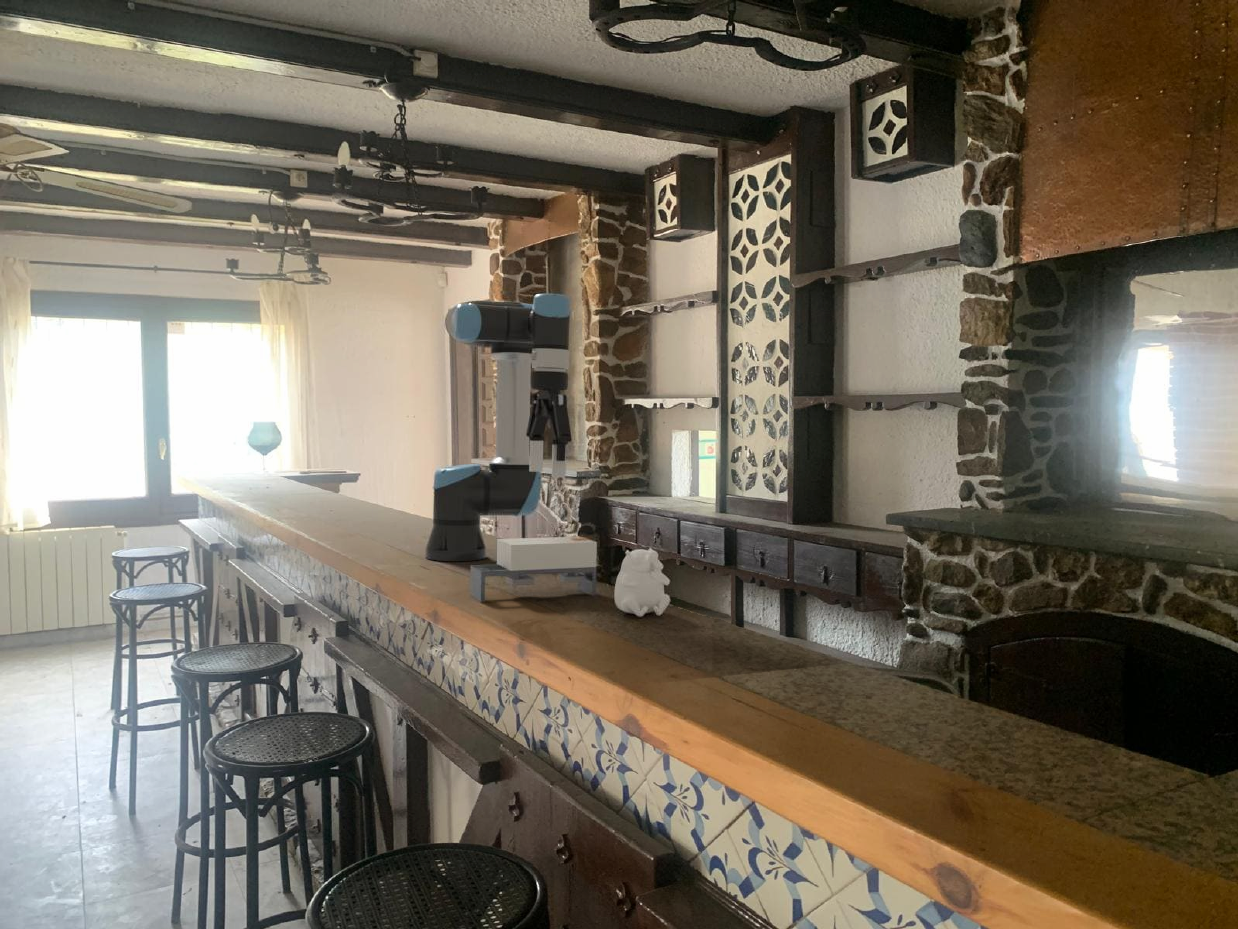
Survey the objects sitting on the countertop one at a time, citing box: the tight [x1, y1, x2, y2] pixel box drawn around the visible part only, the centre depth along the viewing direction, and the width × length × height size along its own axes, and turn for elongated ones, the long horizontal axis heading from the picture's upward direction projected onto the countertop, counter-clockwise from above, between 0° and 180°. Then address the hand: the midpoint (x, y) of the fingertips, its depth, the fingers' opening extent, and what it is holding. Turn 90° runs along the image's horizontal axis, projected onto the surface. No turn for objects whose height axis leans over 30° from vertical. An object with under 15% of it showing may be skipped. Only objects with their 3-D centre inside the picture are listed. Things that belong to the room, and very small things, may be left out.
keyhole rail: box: [469, 563, 597, 603], centre depth 186 cm, size 8×24×6 cm, turn 115°
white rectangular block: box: [496, 536, 598, 587], centre depth 187 cm, size 9×18×9 cm, turn 115°
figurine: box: [613, 547, 671, 618], centre depth 171 cm, size 10×10×12 cm
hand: (546, 474), depth 191 cm, fingers open, 13 cm apart
